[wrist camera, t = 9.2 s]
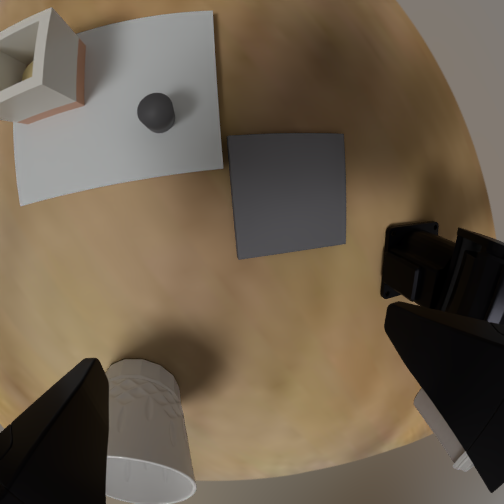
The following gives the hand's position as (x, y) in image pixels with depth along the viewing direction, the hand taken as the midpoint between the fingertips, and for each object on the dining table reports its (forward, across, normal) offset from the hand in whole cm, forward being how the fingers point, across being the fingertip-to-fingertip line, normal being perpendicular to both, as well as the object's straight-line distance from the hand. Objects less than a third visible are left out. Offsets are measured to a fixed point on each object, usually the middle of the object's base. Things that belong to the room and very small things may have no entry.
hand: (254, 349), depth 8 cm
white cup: (+12, +8, +12) cm, 19 cm away
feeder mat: (+12, -6, -2) cm, 13 cm away
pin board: (+12, +6, -10) cm, 17 cm away
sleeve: (+11, +9, -12) cm, 19 cm away
